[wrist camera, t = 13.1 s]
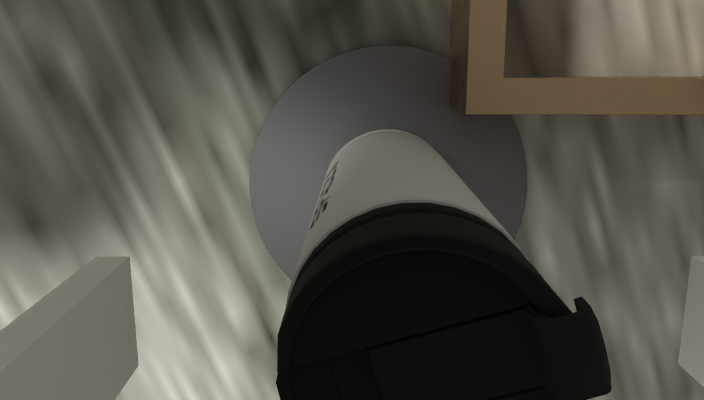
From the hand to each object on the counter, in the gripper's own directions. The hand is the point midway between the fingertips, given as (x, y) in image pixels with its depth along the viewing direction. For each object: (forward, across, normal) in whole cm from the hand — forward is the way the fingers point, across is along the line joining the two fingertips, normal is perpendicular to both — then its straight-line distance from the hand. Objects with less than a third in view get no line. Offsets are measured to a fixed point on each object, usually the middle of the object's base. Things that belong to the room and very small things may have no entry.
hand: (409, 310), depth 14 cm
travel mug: (+17, +1, 0) cm, 17 cm away
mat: (+18, +1, 0) cm, 18 cm away
